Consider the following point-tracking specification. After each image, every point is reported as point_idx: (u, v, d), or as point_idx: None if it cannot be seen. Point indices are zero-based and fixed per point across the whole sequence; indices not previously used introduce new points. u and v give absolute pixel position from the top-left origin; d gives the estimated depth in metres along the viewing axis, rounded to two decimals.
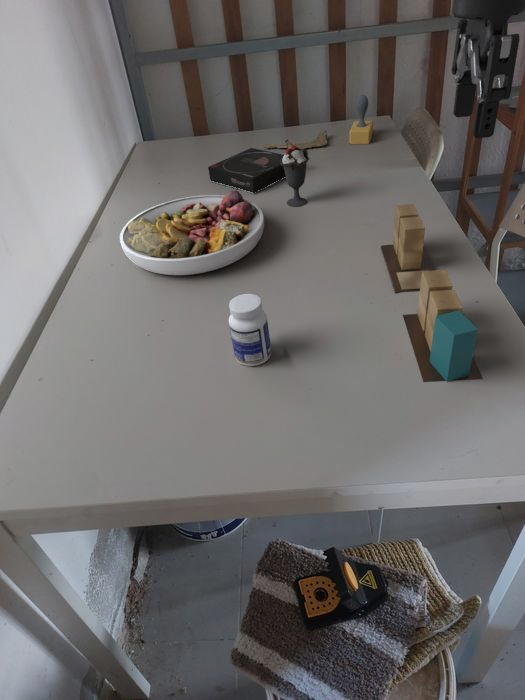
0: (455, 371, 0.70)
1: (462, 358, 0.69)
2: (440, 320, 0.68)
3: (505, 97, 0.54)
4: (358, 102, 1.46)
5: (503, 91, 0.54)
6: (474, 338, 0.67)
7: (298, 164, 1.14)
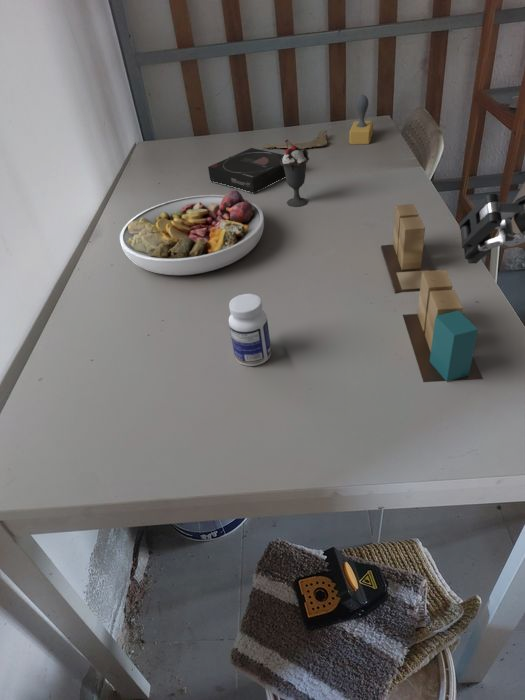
0: (455, 371, 0.70)
1: (462, 358, 0.69)
2: (440, 320, 0.68)
3: None
4: (358, 102, 1.46)
5: None
6: (474, 338, 0.67)
7: (298, 164, 1.14)
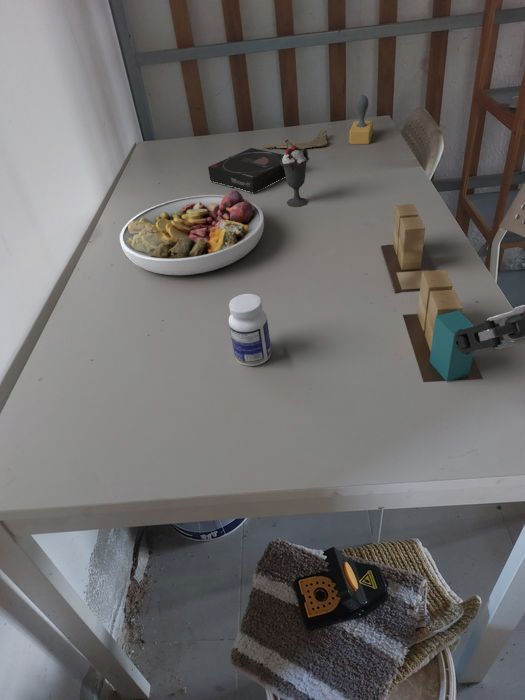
0: (455, 371, 0.70)
1: (462, 358, 0.69)
2: (440, 320, 0.68)
3: None
4: (358, 102, 1.46)
5: None
6: None
7: (298, 164, 1.14)
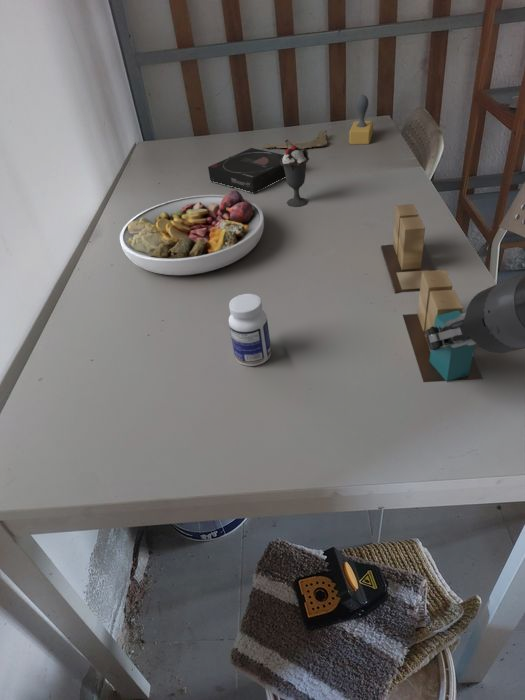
0: (455, 370, 0.70)
1: (462, 358, 0.69)
2: (440, 320, 0.68)
3: None
4: (358, 102, 1.46)
5: None
6: None
7: (298, 164, 1.14)
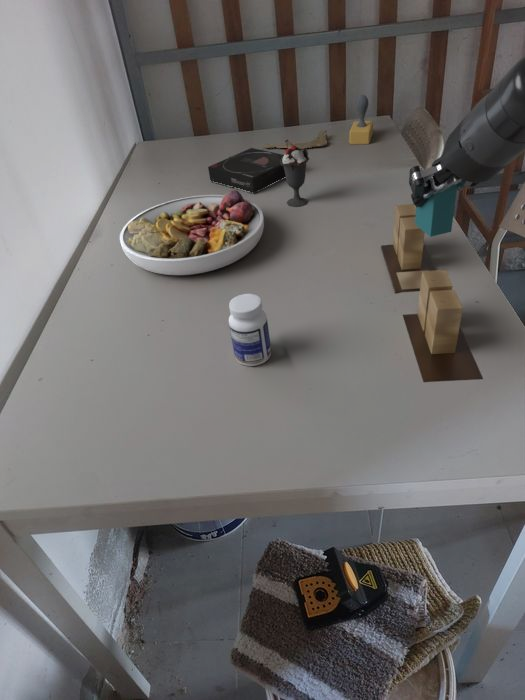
0: (438, 225, 0.75)
1: (444, 211, 0.73)
2: None
3: None
4: (358, 102, 1.46)
5: None
6: (455, 188, 0.72)
7: (298, 164, 1.14)
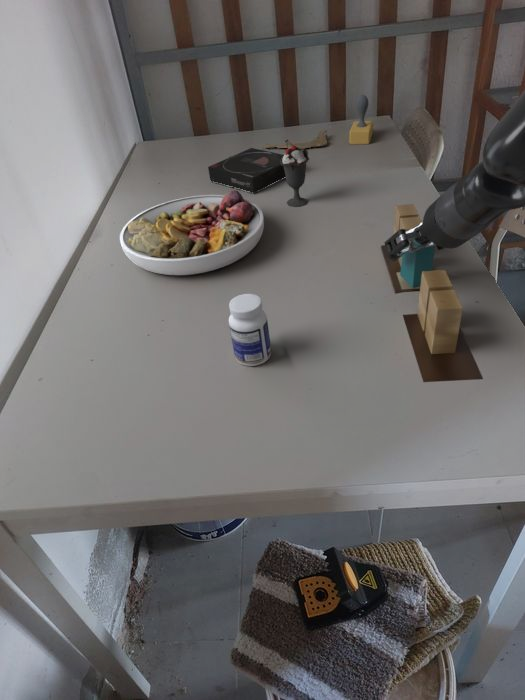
0: (419, 278, 0.88)
1: (424, 268, 0.87)
2: None
3: None
4: (358, 102, 1.46)
5: None
6: (433, 250, 0.85)
7: (298, 164, 1.14)
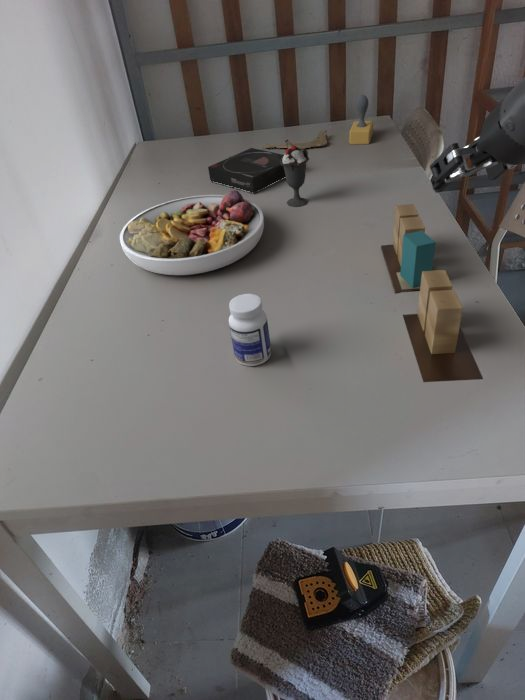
0: (419, 278, 0.88)
1: (424, 268, 0.87)
2: (406, 237, 0.86)
3: None
4: (358, 102, 1.46)
5: None
6: (433, 250, 0.85)
7: (298, 164, 1.14)
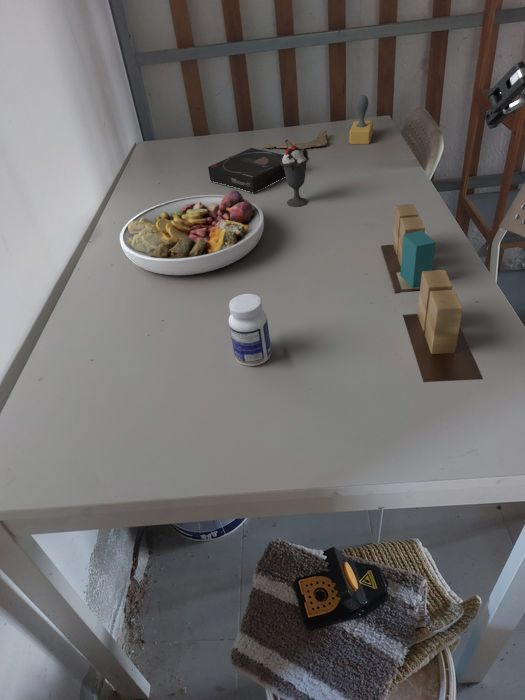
0: (419, 278, 0.88)
1: (424, 268, 0.87)
2: (406, 237, 0.86)
3: None
4: (358, 102, 1.46)
5: None
6: (433, 250, 0.85)
7: (298, 164, 1.14)
